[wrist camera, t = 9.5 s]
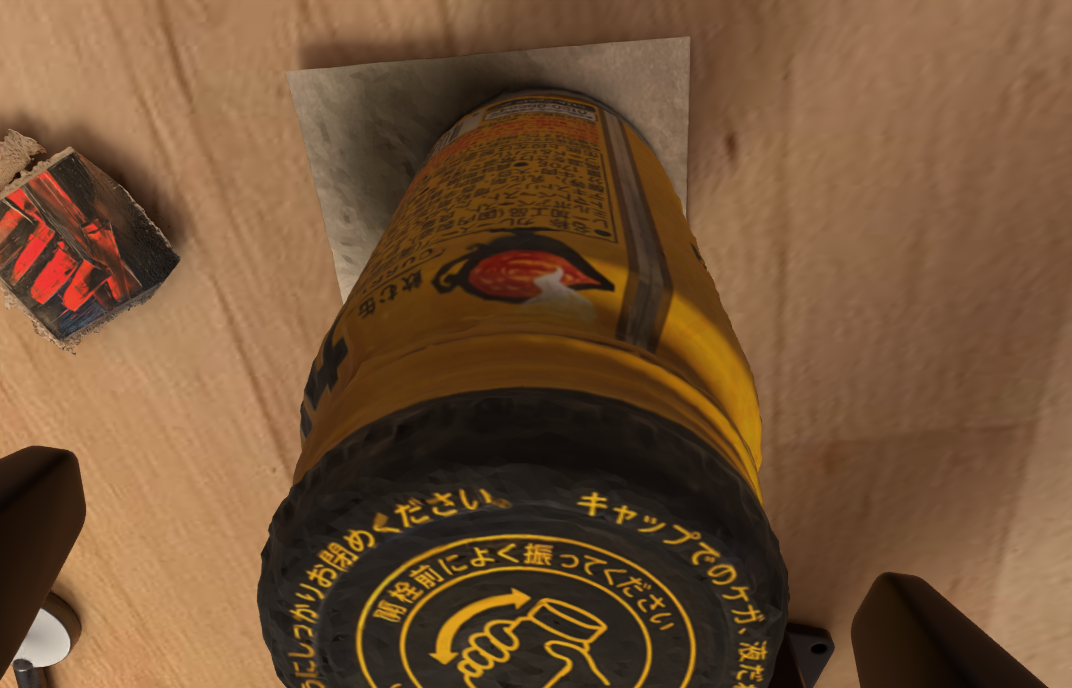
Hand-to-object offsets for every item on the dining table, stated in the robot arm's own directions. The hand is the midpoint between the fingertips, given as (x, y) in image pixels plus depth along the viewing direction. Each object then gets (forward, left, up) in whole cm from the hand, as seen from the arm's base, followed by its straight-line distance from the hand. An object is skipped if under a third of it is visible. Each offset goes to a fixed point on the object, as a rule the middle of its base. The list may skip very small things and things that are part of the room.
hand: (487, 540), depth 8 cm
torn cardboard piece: (-2, +11, -11) cm, 15 cm away
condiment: (0, 0, -11) cm, 11 cm away
